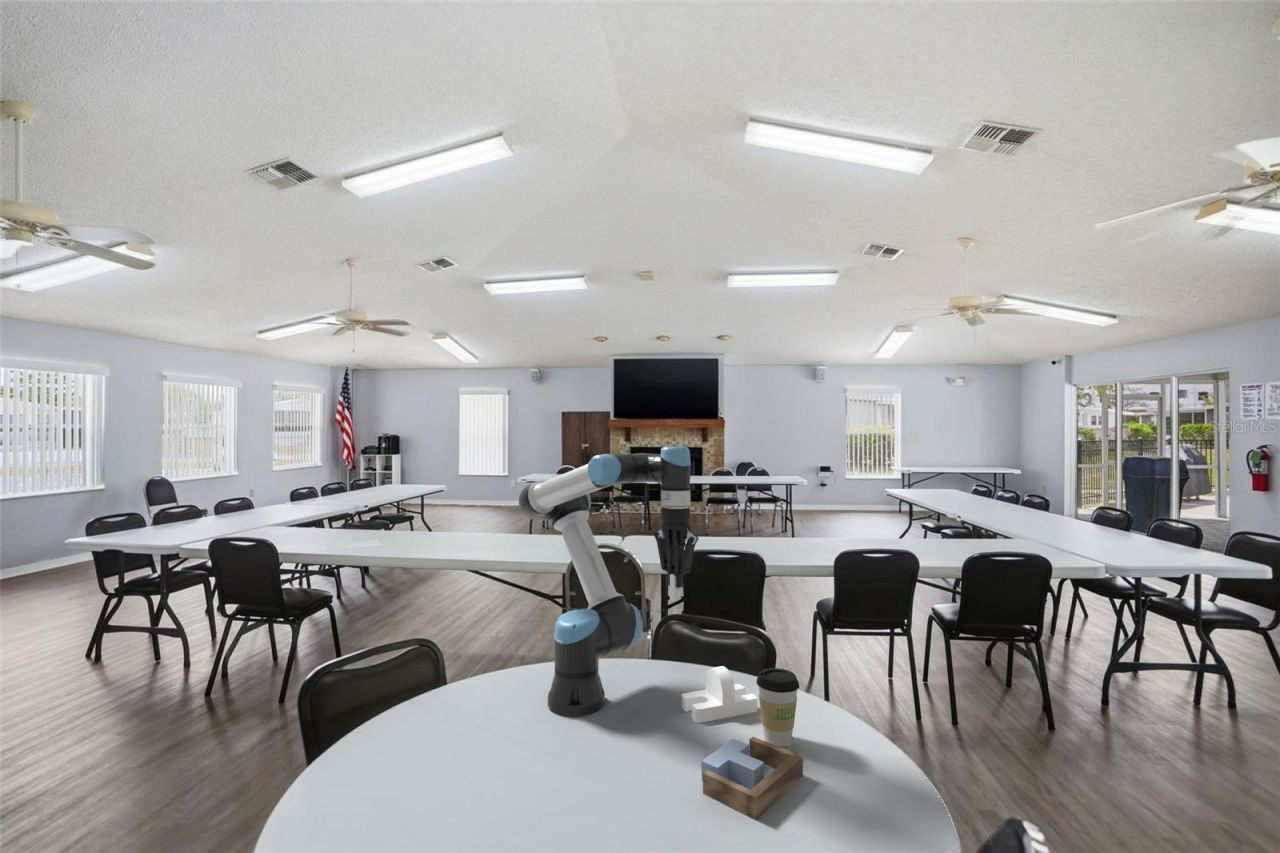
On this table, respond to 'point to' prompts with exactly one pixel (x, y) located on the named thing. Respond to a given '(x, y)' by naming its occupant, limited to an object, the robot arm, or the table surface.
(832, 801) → the table surface
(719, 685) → the white slotted block
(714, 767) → the t block
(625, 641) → the robot arm
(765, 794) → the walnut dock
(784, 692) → the coffee cup
